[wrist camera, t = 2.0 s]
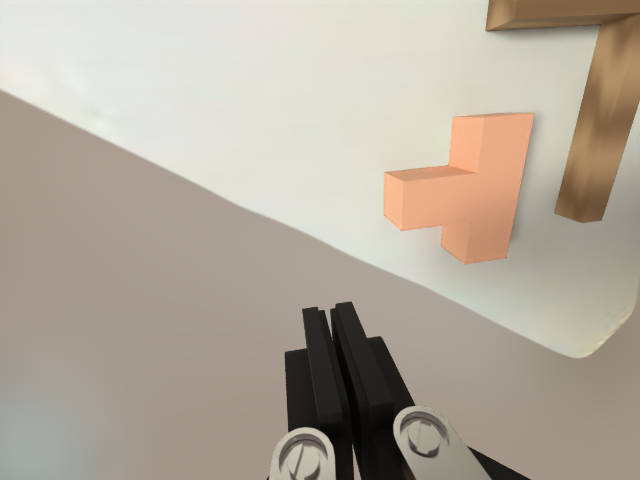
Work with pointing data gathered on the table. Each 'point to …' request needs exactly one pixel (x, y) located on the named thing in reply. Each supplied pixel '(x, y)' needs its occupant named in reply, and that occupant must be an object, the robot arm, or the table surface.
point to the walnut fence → (590, 92)
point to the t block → (467, 187)
